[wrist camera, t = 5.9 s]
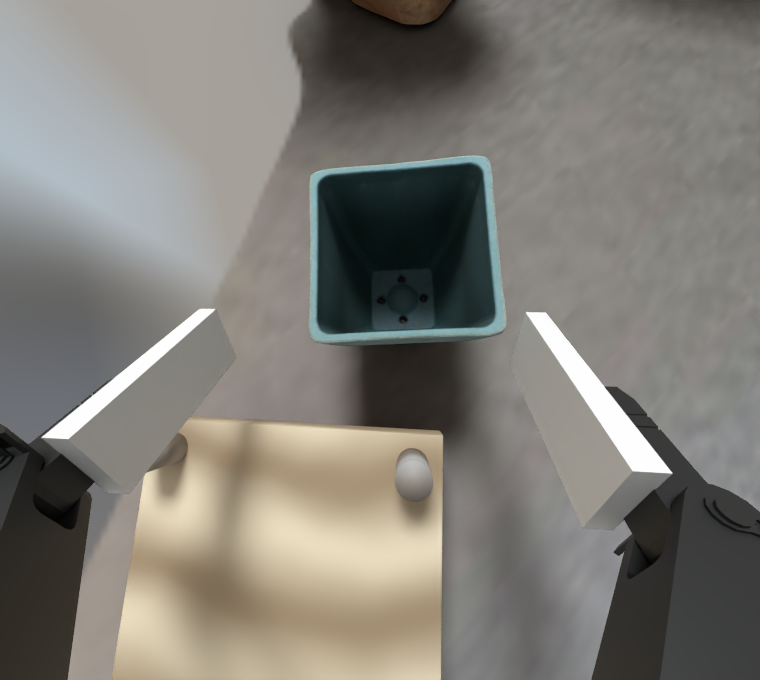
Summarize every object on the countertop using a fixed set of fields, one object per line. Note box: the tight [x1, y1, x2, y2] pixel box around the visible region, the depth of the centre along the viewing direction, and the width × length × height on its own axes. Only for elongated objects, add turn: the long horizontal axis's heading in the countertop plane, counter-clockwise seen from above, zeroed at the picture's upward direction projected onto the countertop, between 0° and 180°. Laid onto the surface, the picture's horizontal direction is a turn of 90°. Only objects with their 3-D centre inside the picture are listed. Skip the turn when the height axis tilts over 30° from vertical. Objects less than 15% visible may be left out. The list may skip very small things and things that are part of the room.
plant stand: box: [112, 416, 443, 680], centre depth 16 cm, size 16×16×8 cm
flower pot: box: [308, 156, 506, 346], centre depth 17 cm, size 9×9×9 cm
